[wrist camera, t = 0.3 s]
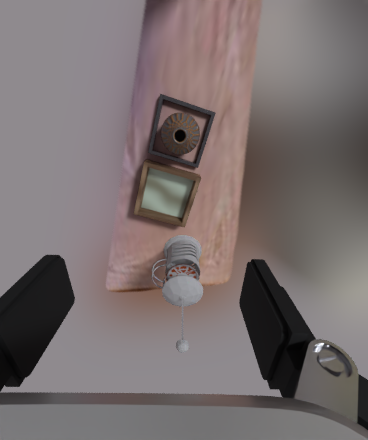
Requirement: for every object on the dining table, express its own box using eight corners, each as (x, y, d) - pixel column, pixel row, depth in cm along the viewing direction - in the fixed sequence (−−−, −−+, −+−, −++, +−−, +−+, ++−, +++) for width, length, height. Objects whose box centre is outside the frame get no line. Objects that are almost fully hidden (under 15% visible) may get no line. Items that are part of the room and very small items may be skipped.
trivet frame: (161, 94, 36) (160, 93, 35) (214, 112, 37) (215, 112, 37) (149, 152, 41) (148, 152, 40) (197, 166, 42) (197, 167, 41)
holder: (146, 159, 41) (144, 161, 38) (199, 175, 43) (201, 178, 40) (136, 208, 46) (133, 214, 43) (184, 221, 48) (184, 227, 45)
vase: (174, 158, 41) (172, 166, 33) (156, 126, 38) (149, 127, 31) (204, 140, 40) (209, 144, 32) (187, 105, 37) (188, 101, 29)
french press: (198, 268, 54) (209, 372, 31) (155, 264, 53) (135, 367, 31) (204, 237, 50) (222, 332, 27) (158, 232, 49) (136, 325, 26)
